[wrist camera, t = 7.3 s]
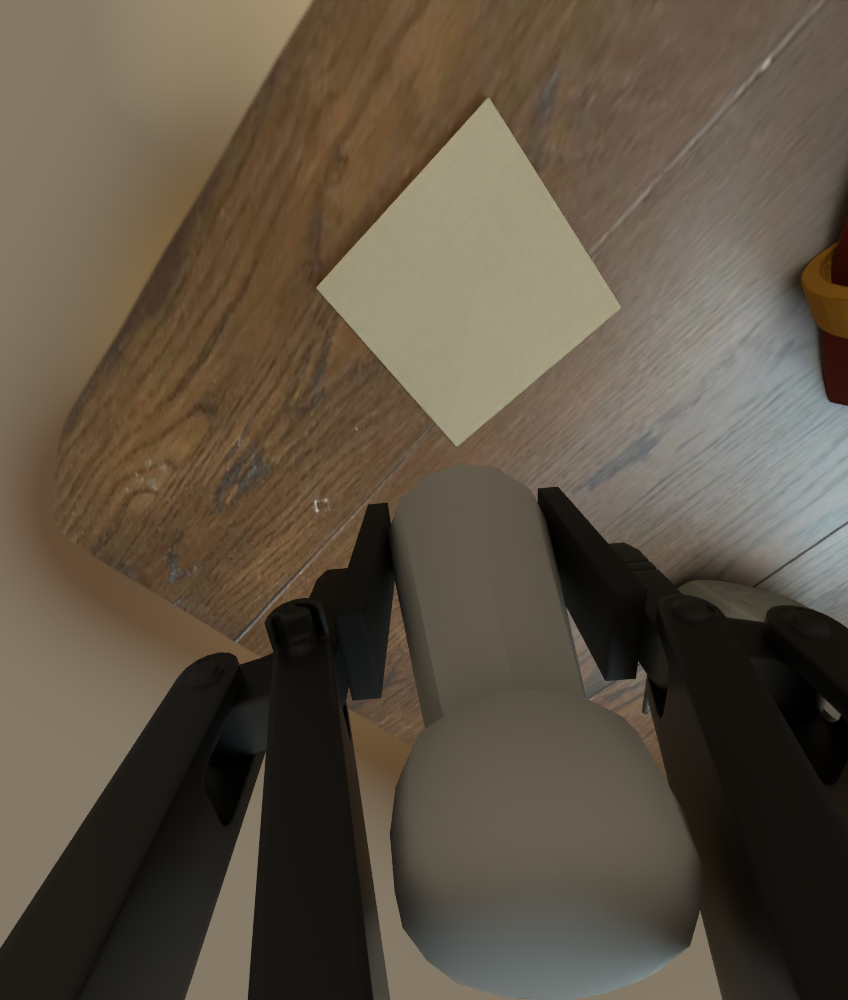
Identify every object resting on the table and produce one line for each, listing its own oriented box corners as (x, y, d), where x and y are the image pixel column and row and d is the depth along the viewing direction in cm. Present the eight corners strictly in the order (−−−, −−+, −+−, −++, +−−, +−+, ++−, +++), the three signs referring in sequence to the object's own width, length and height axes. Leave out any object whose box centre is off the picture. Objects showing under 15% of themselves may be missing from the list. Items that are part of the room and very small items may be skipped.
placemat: (456, 445, 30) (456, 447, 29) (317, 288, 26) (315, 287, 25) (619, 307, 26) (621, 307, 26) (487, 100, 22) (488, 96, 22)
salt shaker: (456, 595, 18) (521, 1086, 6) (364, 514, 17) (220, 965, 5) (558, 514, 17) (897, 961, 5) (467, 417, 15) (633, 723, 3)
